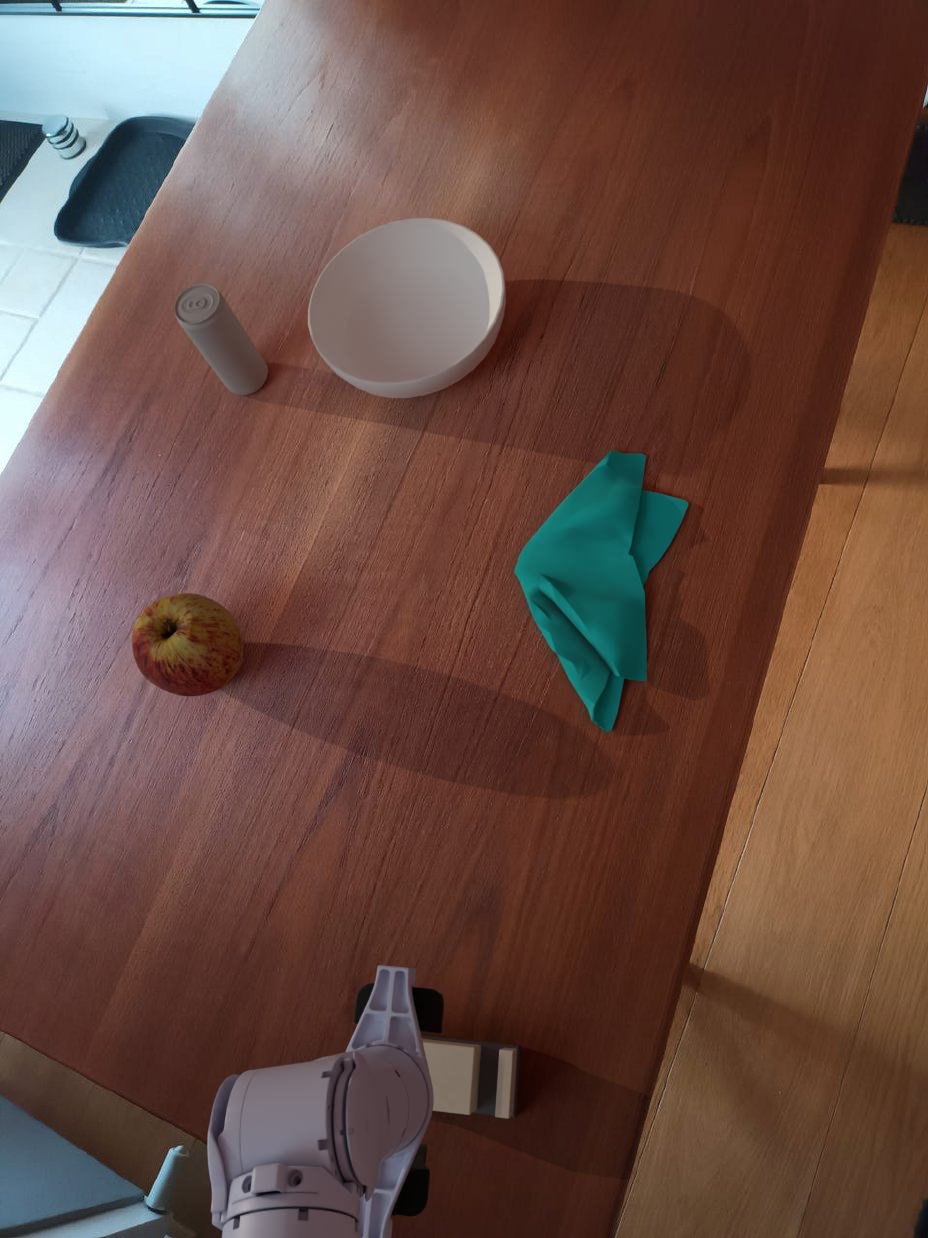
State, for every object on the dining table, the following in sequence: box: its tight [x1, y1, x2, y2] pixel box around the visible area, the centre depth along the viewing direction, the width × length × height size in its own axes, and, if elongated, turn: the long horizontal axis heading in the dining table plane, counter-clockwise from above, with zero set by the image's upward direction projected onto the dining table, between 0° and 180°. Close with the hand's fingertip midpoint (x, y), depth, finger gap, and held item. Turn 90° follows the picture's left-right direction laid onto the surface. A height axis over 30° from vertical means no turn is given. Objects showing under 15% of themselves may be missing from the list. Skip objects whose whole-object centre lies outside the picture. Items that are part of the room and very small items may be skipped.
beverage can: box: [173, 282, 269, 396], centre depth 94 cm, size 5×5×12 cm
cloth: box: [513, 449, 689, 732], centre depth 83 cm, size 26×14×2 cm, turn 162°
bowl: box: [307, 217, 507, 399], centre depth 94 cm, size 20×20×6 cm
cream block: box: [421, 1034, 522, 1119], centre depth 70 cm, size 11×5×4 cm, turn 85°
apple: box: [131, 592, 244, 697], centre depth 84 cm, size 9×9×10 cm
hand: (417, 1083), depth 64 cm, fingers open, 7 cm apart
